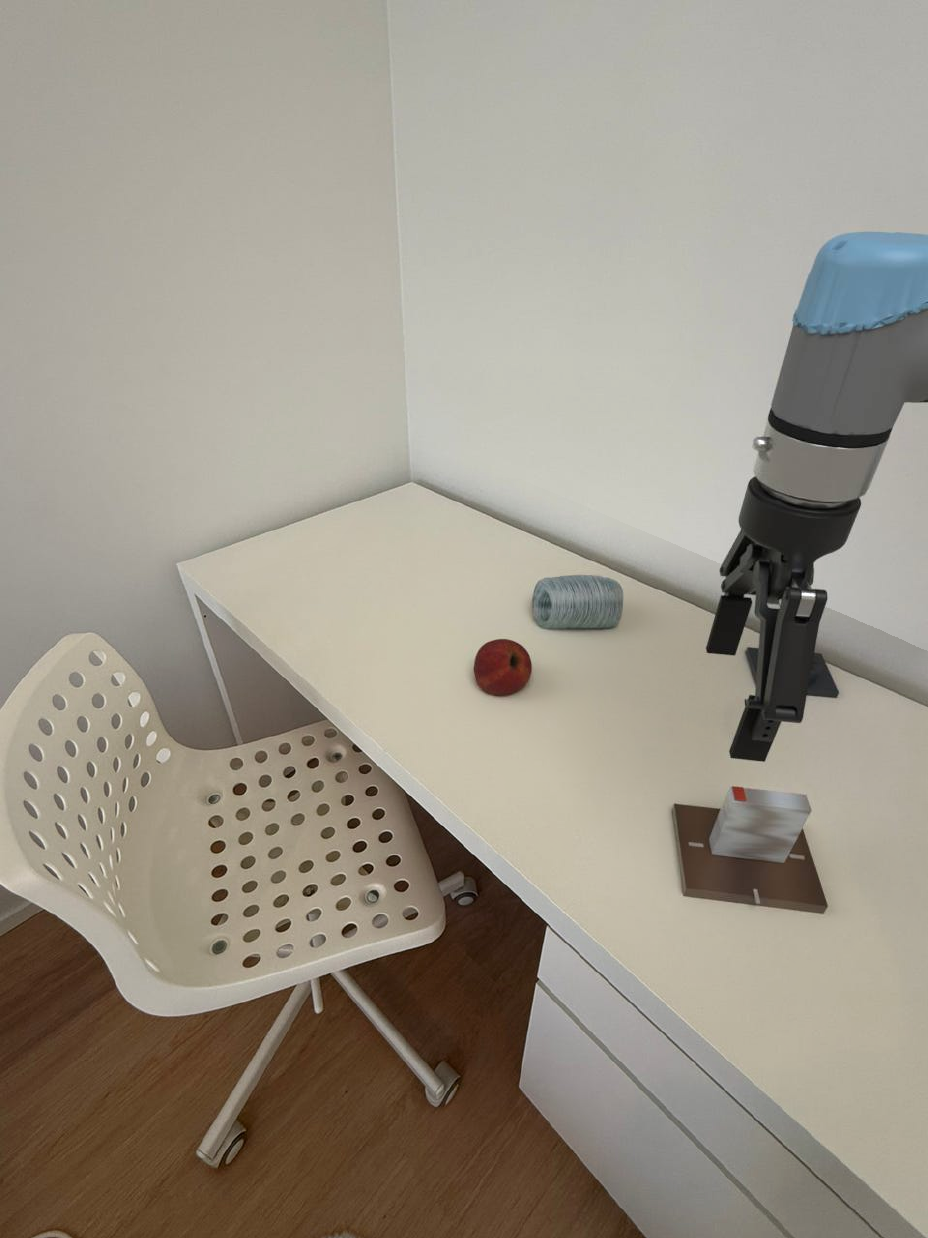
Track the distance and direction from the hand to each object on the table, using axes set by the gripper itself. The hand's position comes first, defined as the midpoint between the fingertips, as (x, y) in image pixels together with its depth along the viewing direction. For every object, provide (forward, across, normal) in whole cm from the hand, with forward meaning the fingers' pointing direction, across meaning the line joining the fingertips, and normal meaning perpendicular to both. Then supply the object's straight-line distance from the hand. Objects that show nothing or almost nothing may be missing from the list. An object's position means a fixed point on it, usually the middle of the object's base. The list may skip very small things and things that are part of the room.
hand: (732, 699), depth 59 cm
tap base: (+19, +4, +5) cm, 20 cm away
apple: (+19, -19, -23) cm, 35 cm away
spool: (+19, -35, -13) cm, 42 cm away
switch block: (+19, -26, +16) cm, 36 cm away
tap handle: (+17, +4, +5) cm, 18 cm away
